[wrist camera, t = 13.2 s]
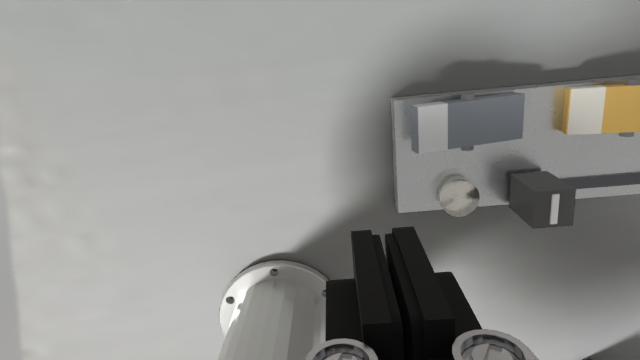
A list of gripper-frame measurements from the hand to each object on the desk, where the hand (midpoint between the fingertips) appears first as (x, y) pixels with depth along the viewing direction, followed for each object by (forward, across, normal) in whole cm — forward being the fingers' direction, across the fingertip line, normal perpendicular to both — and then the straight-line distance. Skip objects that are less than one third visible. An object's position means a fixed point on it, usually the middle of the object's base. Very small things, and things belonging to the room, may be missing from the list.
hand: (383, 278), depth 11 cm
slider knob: (+25, -15, +8) cm, 30 cm away
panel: (+27, -16, +4) cm, 32 cm away
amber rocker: (+24, -22, +1) cm, 32 cm away
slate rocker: (+24, -10, +1) cm, 25 cm away
